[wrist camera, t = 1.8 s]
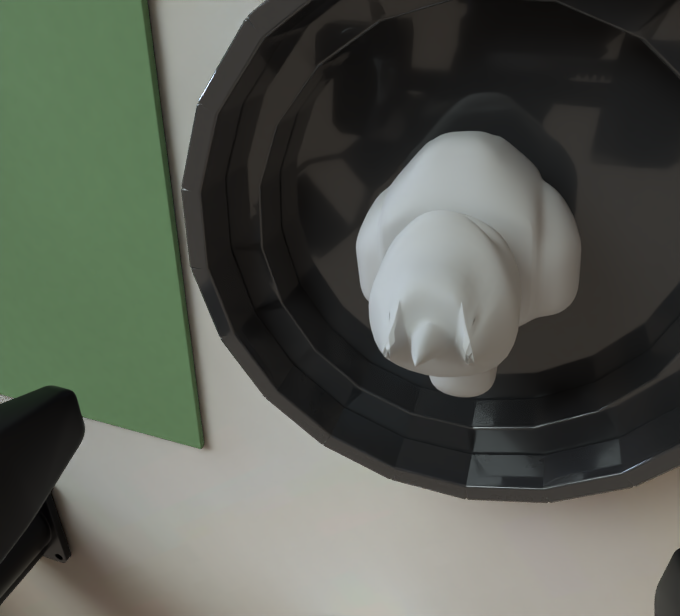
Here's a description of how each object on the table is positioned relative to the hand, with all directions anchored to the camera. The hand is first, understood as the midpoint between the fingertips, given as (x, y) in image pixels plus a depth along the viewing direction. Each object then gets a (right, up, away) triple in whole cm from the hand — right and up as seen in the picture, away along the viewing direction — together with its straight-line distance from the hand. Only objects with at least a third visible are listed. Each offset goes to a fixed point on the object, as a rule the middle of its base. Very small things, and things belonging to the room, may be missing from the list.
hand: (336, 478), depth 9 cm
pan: (+4, +5, +8) cm, 11 cm away
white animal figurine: (+4, +5, +8) cm, 10 cm away
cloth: (-11, +6, +13) cm, 19 cm away
